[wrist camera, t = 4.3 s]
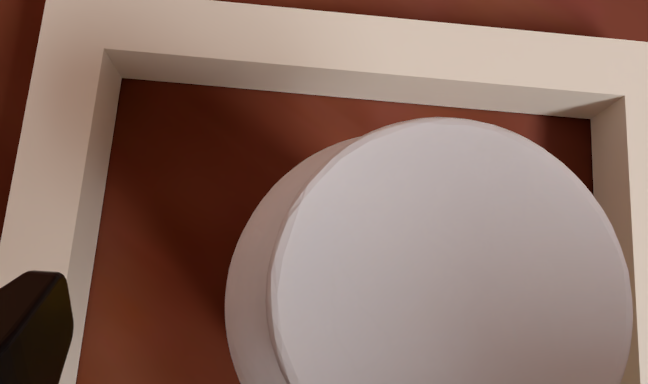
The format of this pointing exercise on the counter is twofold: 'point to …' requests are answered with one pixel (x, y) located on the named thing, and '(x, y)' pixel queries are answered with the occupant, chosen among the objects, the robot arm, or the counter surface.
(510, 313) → the supplement bottle
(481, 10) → the counter surface
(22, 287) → the robot arm
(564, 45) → the white u-shaped bracket
